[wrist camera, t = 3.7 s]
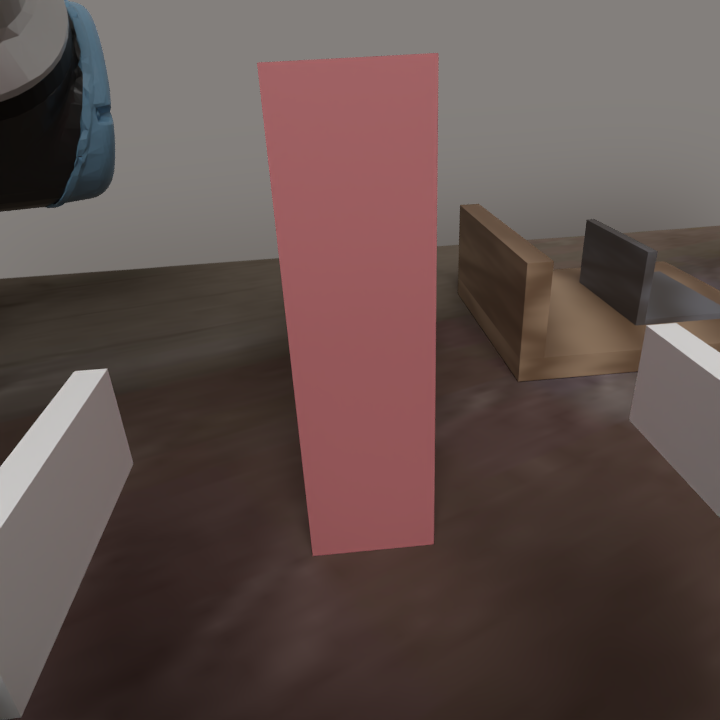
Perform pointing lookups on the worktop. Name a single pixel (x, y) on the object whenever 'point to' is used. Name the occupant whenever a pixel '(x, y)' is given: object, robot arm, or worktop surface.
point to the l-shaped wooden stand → (574, 299)
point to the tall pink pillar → (359, 287)
